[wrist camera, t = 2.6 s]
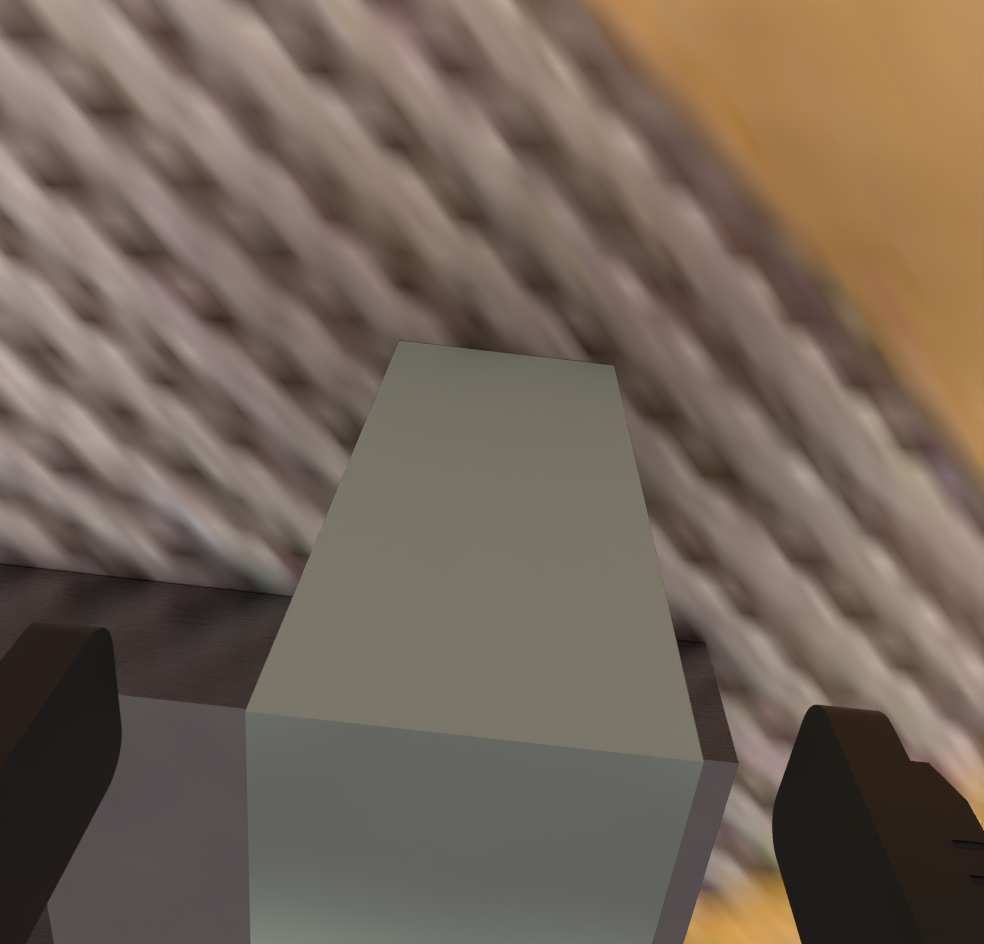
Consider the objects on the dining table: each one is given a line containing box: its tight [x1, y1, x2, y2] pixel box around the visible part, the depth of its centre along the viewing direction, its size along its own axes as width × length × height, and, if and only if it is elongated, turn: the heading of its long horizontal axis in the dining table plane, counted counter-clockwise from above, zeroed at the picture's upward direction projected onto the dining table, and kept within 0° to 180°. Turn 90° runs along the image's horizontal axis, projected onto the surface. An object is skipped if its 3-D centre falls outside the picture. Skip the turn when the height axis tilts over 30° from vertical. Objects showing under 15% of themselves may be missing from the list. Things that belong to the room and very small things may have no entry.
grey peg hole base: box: [0, 565, 739, 944], centre depth 21 cm, size 22×12×4 cm, turn 84°
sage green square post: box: [245, 341, 704, 944], centre depth 13 cm, size 4×4×10 cm
